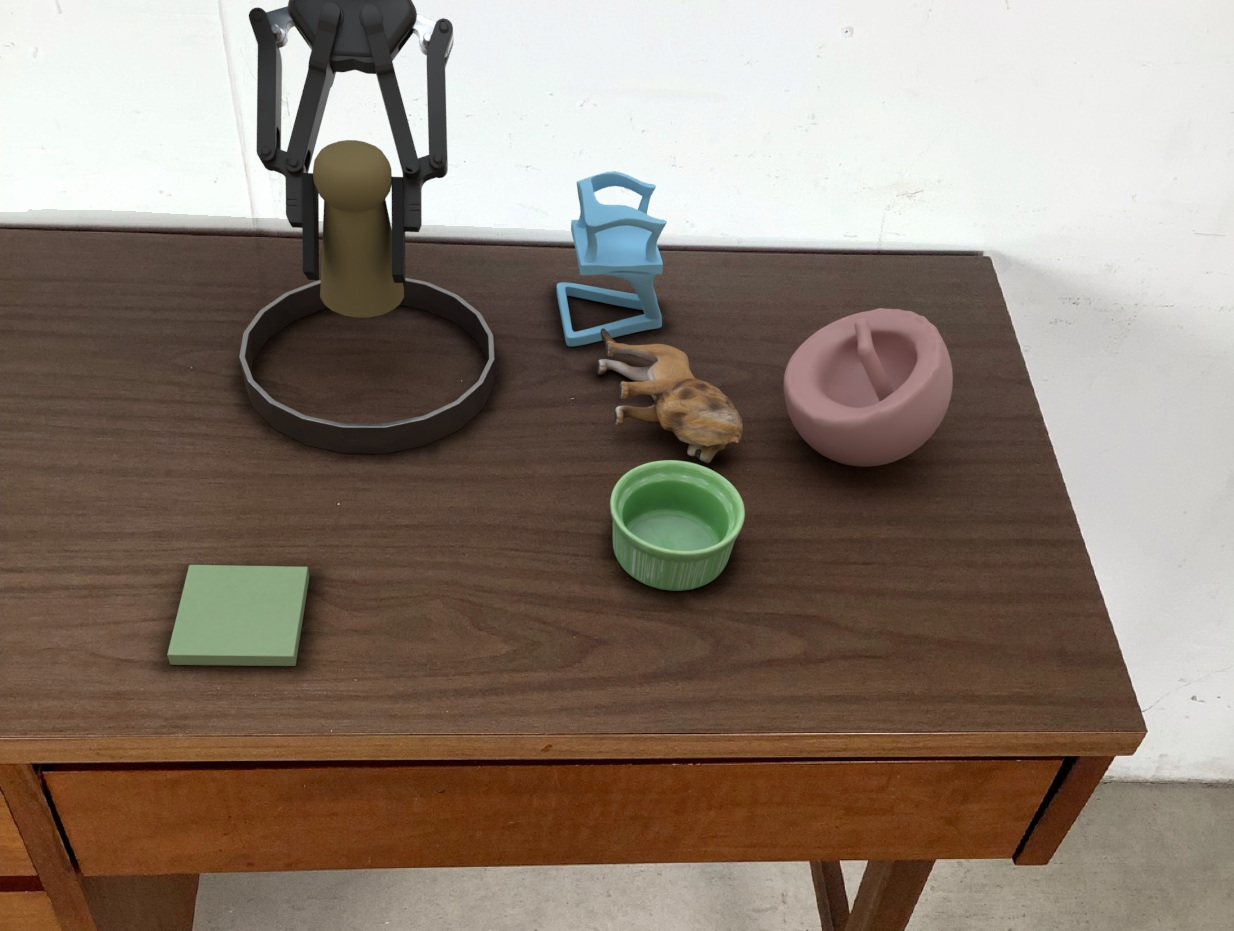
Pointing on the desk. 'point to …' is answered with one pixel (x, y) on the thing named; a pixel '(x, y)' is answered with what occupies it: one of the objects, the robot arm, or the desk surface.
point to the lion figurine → (674, 397)
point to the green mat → (239, 616)
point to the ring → (368, 435)
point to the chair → (614, 257)
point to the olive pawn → (356, 230)
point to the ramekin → (674, 524)
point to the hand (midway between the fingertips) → (355, 277)
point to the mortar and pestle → (869, 386)
